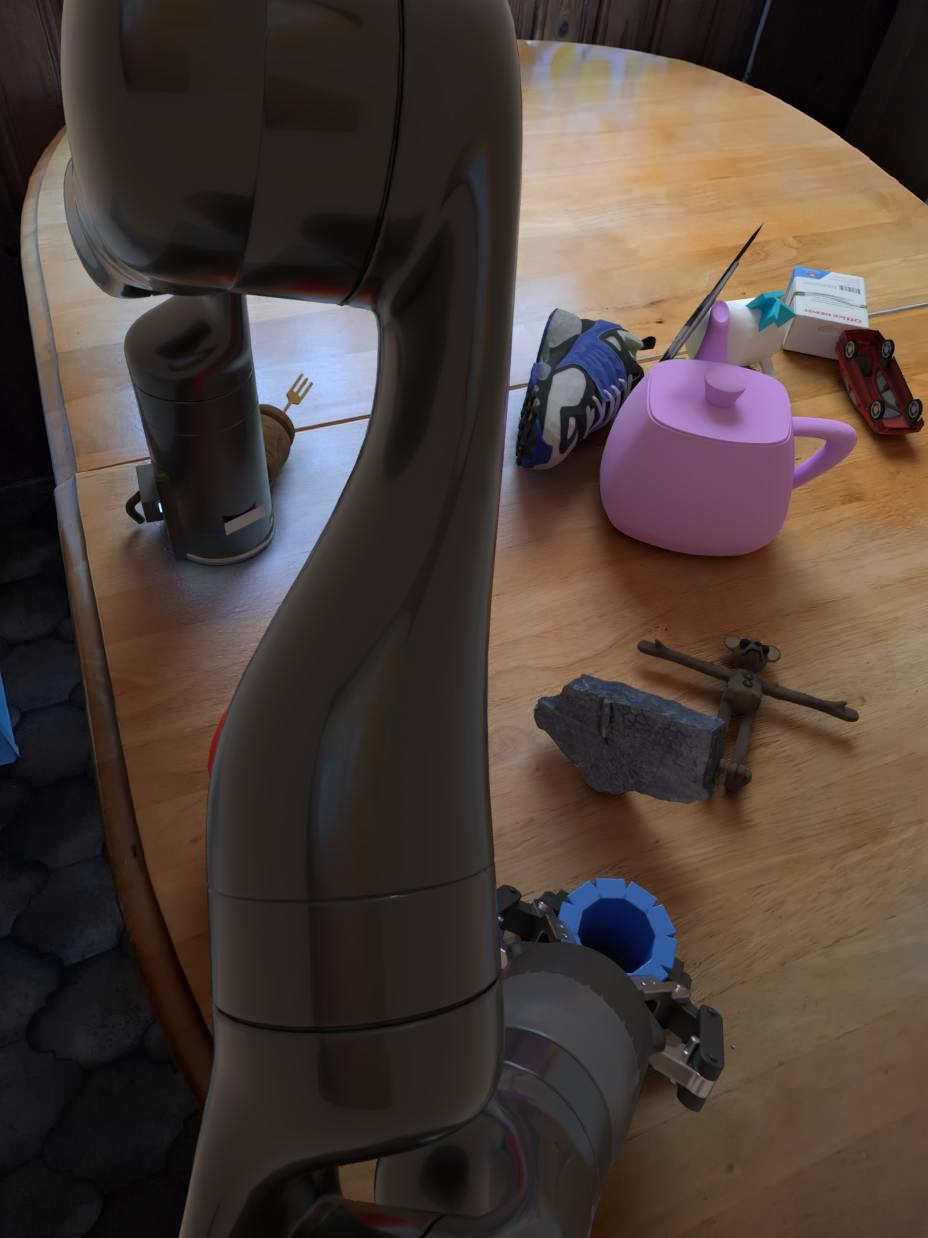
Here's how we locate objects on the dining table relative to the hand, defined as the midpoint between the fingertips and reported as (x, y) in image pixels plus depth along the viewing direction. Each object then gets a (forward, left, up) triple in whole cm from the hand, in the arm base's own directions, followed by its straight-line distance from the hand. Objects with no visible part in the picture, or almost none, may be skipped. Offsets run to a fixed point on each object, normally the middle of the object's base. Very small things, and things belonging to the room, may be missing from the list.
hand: (613, 939), depth 53 cm
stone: (+8, +14, -8) cm, 18 cm away
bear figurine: (+19, +16, -8) cm, 26 cm away
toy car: (+55, +49, -2) cm, 74 cm away
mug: (+37, +53, -1) cm, 65 cm away
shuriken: (+24, +55, 0) cm, 60 cm away
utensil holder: (-13, +51, -4) cm, 53 cm away
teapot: (+27, +40, -7) cm, 48 cm away
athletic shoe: (+16, +56, -3) cm, 58 cm away
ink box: (+61, +69, -5) cm, 92 cm away
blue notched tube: (-1, -1, -4) cm, 5 cm away
